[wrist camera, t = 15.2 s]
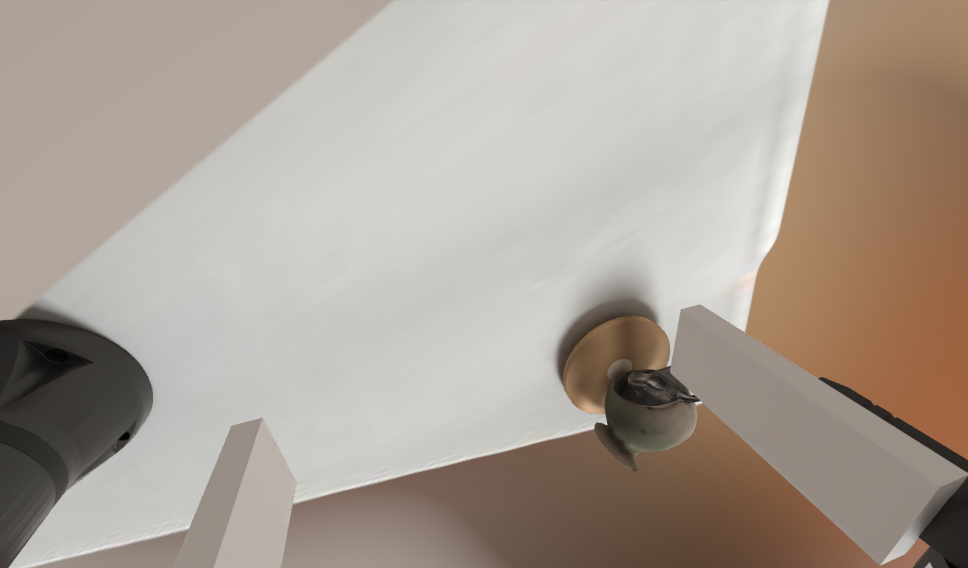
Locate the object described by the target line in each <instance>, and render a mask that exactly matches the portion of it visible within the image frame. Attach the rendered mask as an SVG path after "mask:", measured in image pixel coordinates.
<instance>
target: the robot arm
mask: <svg viewBox="0 0 968 568" xmlns="http://www.w3.org/2000/svg"><path fill="white" fill-rule="evenodd" d="M670 373H671V374H672V375H673V376H674V377H675V378H676V379H678V380H679V381H680V382H681V383H682V384H683V385H684V386H685V387H686V388H687V389H688V390H689V391H691V392H692V393H693V394H694V395H695V396H696V397H697V398H698V399H699V400H700V401H701V402H703V403H704V404H705V405H706V406H707V407H708V408H709V409H710V410H711V411H713V413H715V414H716V415H717V416H718V417H719V418H720V419H721V420H722V421H723V422H724V423H725V424H727V425H728V426H729V427H730V428H731V429H732V430H733V431H734V432H735V433H736V434H738V435H739V436H740V437H741V438H742V439H743V440H744V441H745V442H746V443H747V444H748V445H749V446H751V447H752V448H753V449H754V450H755V451H756V452H757V453H758V454H759V455H760V456H761V457H762V458H764V459H765V460H766V461H767V462H768V463H769V464H770V465H771V466H772V467H773V468H774V469H776V470H777V471H778V472H779V473H780V474H781V475H782V476H783V477H784V478H785V479H786V480H788V481H789V482H790V483H791V484H792V485H793V486H794V487H795V488H796V489H797V490H799V492H801V493H802V494H803V495H804V496H805V497H806V498H807V499H808V500H809V501H810V502H812V503H813V504H814V505H815V506H816V507H817V508H818V509H819V510H820V511H821V512H822V513H824V514H825V515H826V516H827V517H828V518H829V519H830V520H831V521H832V522H833V523H834V524H836V525H837V526H838V527H839V528H840V529H841V530H842V531H843V532H844V533H845V534H846V535H847V536H849V537H850V538H851V539H852V540H853V541H854V542H855V543H856V544H857V545H858V546H859V547H861V548H862V549H863V550H864V551H865V552H866V553H867V554H868V555H869V556H870V557H871V558H872V559H874V560H875V561H876V562H877V563H878V564H879V565H882V564H884V563H886V562H889V561H891V560H893V559H895V558H897V557H899V556H902V555H904V554H906V553H907V552H908V550H909V549H910V548H911V546H912V545H913V544H914V543H915V542H916V540H917V539H918V538H921V539H922V540H923V541H924V542H926V543H927V544H928V545H929V546H930V547H929V548H928V549H927V551H926V552H925V553H924V554H923V555H922V556H921V557H920V559H919V560H918V561H917V562H916V563H915V565H914V567H913V568H968V460H967V459H965V458H963V457H962V456H960V455H958V454H957V453H955V452H953V451H952V450H950V449H949V448H947V447H945V446H943V445H942V444H940V443H939V442H937V441H935V440H934V439H932V438H930V437H929V436H927V435H925V434H924V433H922V432H921V431H919V430H917V429H916V428H914V427H912V426H911V425H909V424H907V423H906V422H904V421H903V420H901V419H899V418H894V417H893V416H892V414H891V413H889V412H887V411H886V410H884V409H883V408H881V407H880V406H878V405H876V406H875V405H873V403H872V402H871V401H870V400H868V399H866V398H865V397H863V396H861V395H860V394H858V393H856V392H855V391H853V390H851V389H850V388H848V387H846V386H843V385H841V384H838V383H836V382H833V381H831V380H828V379H826V378H823V377H821V378H816V377H814V376H812V375H811V374H809V373H808V372H806V371H805V370H803V369H802V368H800V367H798V366H797V365H795V364H794V363H792V362H791V361H789V360H787V359H786V358H784V357H783V356H781V355H779V354H778V353H776V352H775V351H773V350H771V349H770V348H768V347H767V346H765V345H763V344H762V343H760V342H759V341H757V340H756V339H754V338H752V337H751V336H749V335H748V334H746V333H745V332H743V331H741V330H740V329H738V328H737V327H735V326H733V325H732V324H730V323H729V322H727V321H725V320H724V319H722V318H721V317H719V316H718V315H716V314H714V313H713V312H711V311H710V310H708V309H706V308H705V307H703V306H702V305H697V306H693V307H689V308H685V309H681V312H680V317H679V323H678V329H677V334H676V340H675V346H674V351H673V357H672V363H671V368H670ZM152 404H153V392H152V387H151V384H150V381H149V379H148V377H147V375H146V373H145V372H144V370H143V369H142V368H141V366H140V365H139V364H138V363H137V362H136V361H135V360H134V359H133V358H132V357H131V356H130V355H129V354H127V353H126V352H125V351H123V350H122V349H121V348H119V347H118V346H116V345H114V344H113V343H111V342H109V341H107V340H105V339H104V338H102V337H99V336H97V335H95V334H92V333H90V332H87V331H84V330H81V329H78V328H75V327H72V326H68V325H63V324H59V323H53V322H47V321H38V320H1V321H0V568H9V566H10V565H11V564H12V562H13V561H14V560H15V558H16V557H17V555H18V554H19V553H20V551H21V550H22V549H23V547H24V546H25V545H26V543H27V542H28V541H29V539H30V538H31V537H32V535H33V534H34V533H35V531H36V530H37V529H38V527H39V526H40V525H41V523H42V522H43V520H44V519H45V518H46V516H47V515H48V514H49V512H50V511H51V509H52V508H53V507H54V506H55V504H56V503H57V502H58V500H59V499H60V498H61V497H62V495H63V494H64V493H65V492H66V491H67V490H68V489H69V488H70V487H72V486H73V485H74V484H76V483H77V482H78V481H80V480H81V479H82V478H84V477H85V476H86V475H88V474H89V473H90V472H92V471H93V470H94V469H96V468H97V467H98V466H100V465H101V464H102V463H104V462H105V461H106V460H108V459H109V458H110V457H112V456H113V455H114V454H116V453H117V452H118V451H120V450H121V449H122V448H123V447H125V446H126V445H127V444H128V443H129V442H130V441H131V440H132V438H133V437H134V436H135V435H136V433H137V432H138V430H139V429H140V428H141V426H142V425H143V423H144V422H145V420H146V419H147V417H148V415H149V413H150V411H151V408H152ZM296 483H297V482H296V480H295V478H294V476H293V475H292V473H291V471H290V469H289V467H288V465H287V463H286V461H285V459H284V458H283V456H282V454H281V452H280V450H279V448H278V446H277V444H276V442H275V441H274V439H273V437H272V435H271V433H270V431H269V429H268V427H267V425H266V424H265V422H264V420H263V418H260V419H256V420H253V421H249V422H245V423H241V424H237V425H233V426H231V429H230V431H229V433H228V436H227V438H226V441H225V443H224V446H223V448H222V450H221V453H220V455H219V458H218V460H217V463H216V465H215V467H214V470H213V472H212V475H211V477H210V480H209V482H208V484H207V487H206V489H205V492H204V494H203V496H202V499H201V501H200V504H199V506H198V509H197V511H196V513H195V516H194V518H193V521H192V523H191V526H190V528H189V530H188V533H187V535H186V538H185V540H184V543H183V545H182V547H181V550H180V552H179V555H178V558H177V560H176V562H175V564H174V567H173V568H281V564H282V558H283V553H284V548H285V542H286V537H287V531H288V526H289V521H290V515H291V510H292V504H293V499H294V493H295V488H296Z"/></svg>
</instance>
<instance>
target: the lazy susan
mask: <svg viewBox="0 0 968 568" xmlns="http://www.w3.org/2000/svg"><path fill="white" fill-rule="evenodd" d="M669 355H670V344H669V340H668V337H667V335H666V334H665V332H664V331H663V330H662V329H661V328H660V327H659V326H658V325H656V324H655V323H654V322H652V321H651V320H649V319H647V318H645V317H640V316H623V317H618V318H615V319H612V320H609V321H607V322H605V323H603V324H601V325H599V326H597V327H596V328H594V329H593V330H591V331H590V332H589V333H588V334H587V335H585V336H584V337H583V338H582V339H581V340H580V341H579V342H578V344H577V345H576V346H575V347H574V349H573V350H572V352H571V353H570V355H569V357H568V359H567V361H566V364H565V367H564V371H563V386H564V390H565V392H566V394H567V395H568V397H569V398H570V400H571V401H572V403H573V404H574V405H575V406H576V407H577V408H579V409H580V410H582V411H585V412H588V413H592V414H605V409H604V403H605V396H606V392H607V390H608V387H609V385H610V383H611V382H612V381H613V380H614V379H615V378H616V377H618V376H619V375H621V374H623V373H625V372H628V371H631V370H642V369H653V370H659V369H662V368H665V367H666V366H667V363H668V360H669Z"/></svg>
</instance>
